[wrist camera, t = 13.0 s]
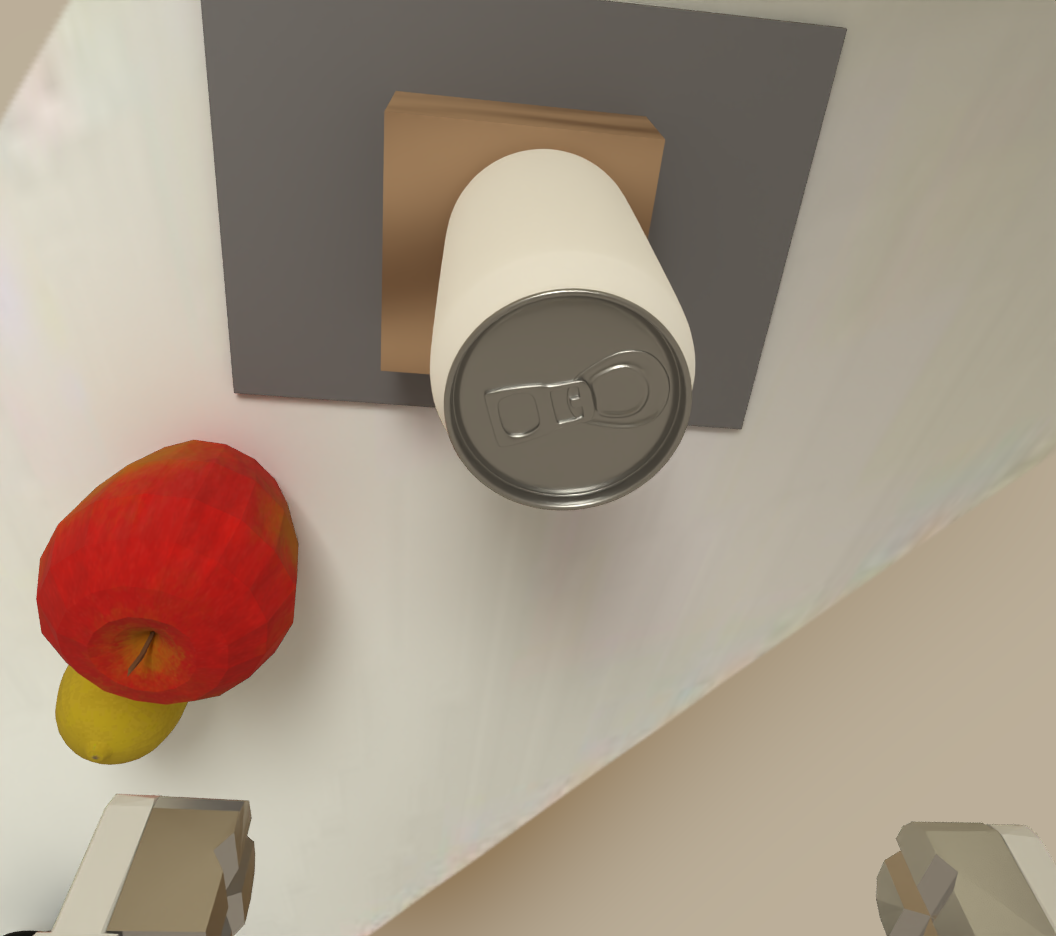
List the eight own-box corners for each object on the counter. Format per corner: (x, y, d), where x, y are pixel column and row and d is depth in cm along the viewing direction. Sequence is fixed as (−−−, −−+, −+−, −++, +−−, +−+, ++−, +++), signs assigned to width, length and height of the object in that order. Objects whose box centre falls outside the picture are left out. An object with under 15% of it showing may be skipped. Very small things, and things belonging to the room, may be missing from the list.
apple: (88, 511, 40) (-49, 711, 30) (157, 359, 36) (27, 528, 26) (276, 591, 43) (209, 798, 33) (359, 457, 39) (313, 645, 29)
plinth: (395, 91, 31) (384, 111, 27) (646, 116, 32) (665, 139, 28) (390, 328, 35) (380, 370, 32) (608, 344, 36) (621, 388, 33)
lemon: (106, 665, 45) (38, 796, 38) (90, 582, 42) (14, 708, 35) (215, 672, 46) (167, 802, 39) (207, 590, 43) (155, 716, 36)
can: (647, 309, 31) (725, 495, 21) (472, 348, 32) (465, 548, 22) (618, 123, 28) (694, 238, 18) (422, 170, 28) (386, 308, 18)
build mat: (200, -46, 29) (196, -46, 28) (842, 27, 31) (847, 28, 30) (236, 388, 37) (233, 393, 37) (739, 424, 39) (741, 429, 39)
